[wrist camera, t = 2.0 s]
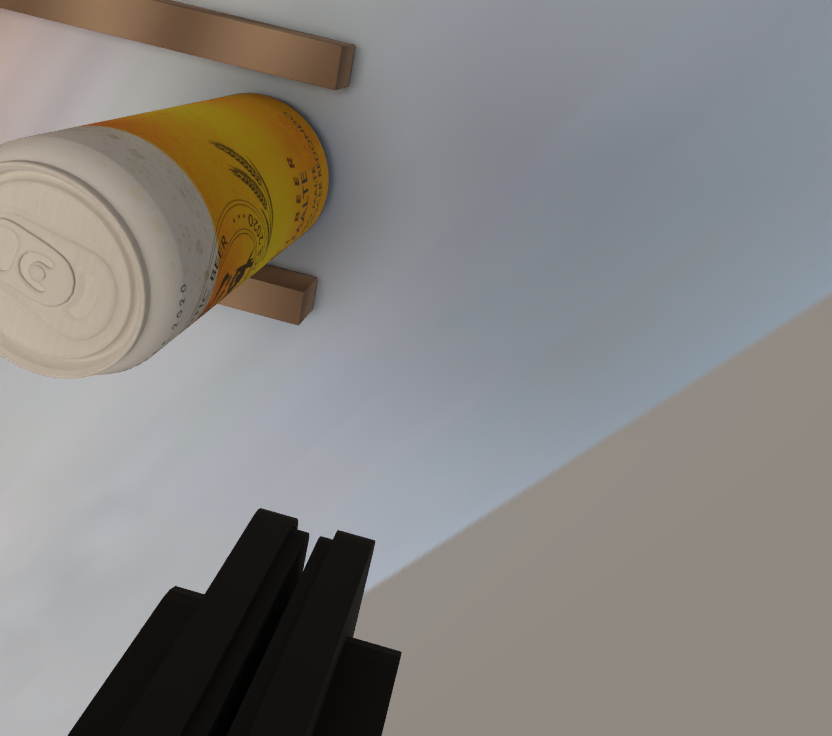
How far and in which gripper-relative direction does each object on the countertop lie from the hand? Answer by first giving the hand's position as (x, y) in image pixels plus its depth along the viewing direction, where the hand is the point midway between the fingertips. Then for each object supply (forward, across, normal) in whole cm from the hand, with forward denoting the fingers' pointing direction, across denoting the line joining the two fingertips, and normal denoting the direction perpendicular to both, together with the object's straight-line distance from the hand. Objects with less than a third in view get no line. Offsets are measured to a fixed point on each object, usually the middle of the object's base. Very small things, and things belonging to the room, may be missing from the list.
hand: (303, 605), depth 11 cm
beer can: (+23, +9, 0) cm, 24 cm away
